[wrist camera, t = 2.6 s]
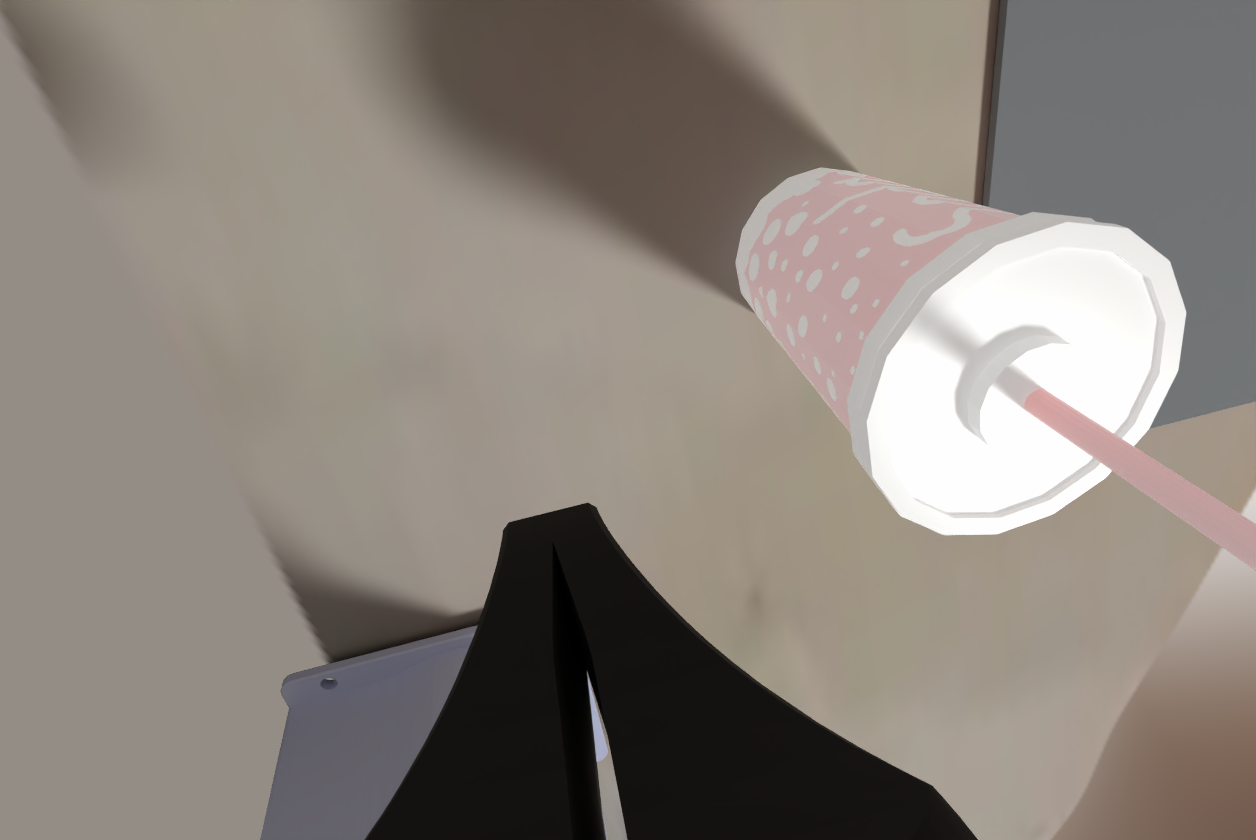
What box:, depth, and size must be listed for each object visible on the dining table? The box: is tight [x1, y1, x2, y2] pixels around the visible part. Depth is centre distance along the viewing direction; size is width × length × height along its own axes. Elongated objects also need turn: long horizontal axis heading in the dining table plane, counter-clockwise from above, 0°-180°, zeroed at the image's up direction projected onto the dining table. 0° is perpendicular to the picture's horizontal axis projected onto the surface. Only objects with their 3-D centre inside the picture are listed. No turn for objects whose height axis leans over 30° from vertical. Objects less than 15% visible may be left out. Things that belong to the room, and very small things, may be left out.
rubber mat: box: [982, 0, 1256, 429], centre depth 22 cm, size 12×17×1 cm
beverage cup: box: [735, 168, 1256, 570], centre depth 15 cm, size 6×6×14 cm
